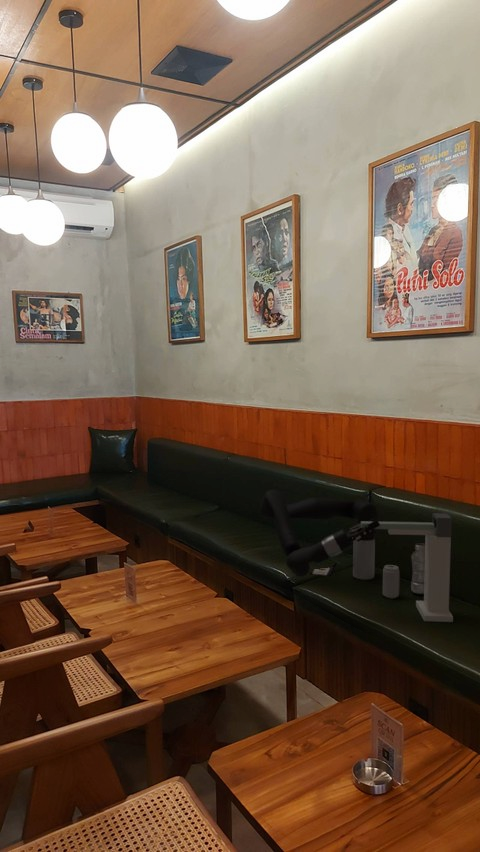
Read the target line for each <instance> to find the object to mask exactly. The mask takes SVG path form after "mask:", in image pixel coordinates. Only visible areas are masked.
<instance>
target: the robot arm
mask: <svg viewBox="0 0 480 852" xmlns="http://www.w3.org/2000/svg"><path fill="white" fill-rule="evenodd" d="M286 501H287V500H286V498H285V496H284V494H283V493H282V492H281V491H279V490H277V489H269V490H267V491H266V492H265V493H264V495H263V497H262V501H261V503H260V506H259V514H260V515H261V516H262V517H263V518H266V519H269V520H275V528H276V535H277V539H278V543H279V546H280V548H281V550H282V552H283V554H284V555H285V556H286V559H285V564H286V566H287V567H288V569H289V570H290V571H291V572H292V573H293V574H294V575H295V576H297V577H299V578H301V577H305V576H307V575H308V573H310V563H321V562H323V561H328V560H329V559H331V558H333V557H336V556H338V555H340V554H342V553H343V552H345V551H348V550H349V549H352V551H353V553H352V577H354V578H355V579H358V580H365V581H366V580H372V579H374V578H375V564H376V562H375V555H376V552H375V551H376V550H375V549H376V534H377V531H378V529H374V528H376V527H378V526H380V524H379V522H380V521H379V520H378V519H379V518H378V515H379V514H378V509H377V507H376V505H374V503H371V502H369V501H367V500H363V499H355V500H351V499H350V500H341V499H334V498H324V497H309V498H305V499H303V500H300V501H298V502H295V503H291V504H287V502H286ZM337 518H346V519H352V520H356V521H357V523H355V524H353V525H351V526H350V528H349V530H348V531H346V530H345V529H344V528H341V529H339V530H337V531H335V532H333V533H332V534H329V535H328V536H326V537H325V538H323V539H321V540H320V541H318V542H316V543H314V544H313V545H310V546H306V547H302V546H301V545H300V542H299V540H298V538H297V535H296V533H295V530H294V527H293V525H292V521H291V519H302V520H303V519H304V520H319V521H320V520H321V521H328V520H333V519H337ZM361 521H372V523H370V524H368V525H369V526H368V525H366V526H364V527H361ZM352 542H353V544H352Z"/></svg>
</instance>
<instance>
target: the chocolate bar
mask: <svg viewBox="0 0 480 852" xmlns="http://www.w3.org/2000/svg"><path fill="white" fill-rule="evenodd" d="M334 568H335V566H334V567H328V568H320V569H313V570H312V568H311V570H309V575H317V576H327V577H330V576H331V574H332V572H333V570H334Z"/></svg>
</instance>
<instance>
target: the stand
mask: <svg viewBox="0 0 480 852" xmlns="http://www.w3.org/2000/svg"><path fill="white" fill-rule="evenodd" d="M432 523H433V524H434V530H405V529H387V533H388V535H397V536H398V535H400V536H401V535H402V536H403V535H405V536H406V535H407V536H410V535H411V536H425V542H424V545H425V550H424V551H425V577H424V594H423V600H415V606H416V608H417V610H418V612H419V615H420V617H421V618H422V619H423V621H424V622H439V623H440V622H441V623H444V622H445V623H453V622H454V616H453V614H452V613H451V611H450V608H449V607H450V579H451V578H450V576H451V575H450V573H451V541H452V540H451V539H452V526H453V525H452V523H453V519H452V517H451V515H449V514H448V513H445V512H443V513H442V512H441V513H440V512H439V513H438V512H437V513H436V512H434V513H433V512H432Z"/></svg>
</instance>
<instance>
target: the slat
mask: <svg viewBox="0 0 480 852" xmlns="http://www.w3.org/2000/svg"><path fill="white" fill-rule="evenodd" d="M378 522H379V524H380V526H378V527H376V528H374V529H377V530H388V529H405V530H434V524H433V523H432V522H427V521H426V522H424V521H423V522H422V521H421V522H420V521H419V522H418V521H378ZM370 523H372V521H361V527H364V526H366V525H368V524H370ZM368 526H369V525H368Z"/></svg>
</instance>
